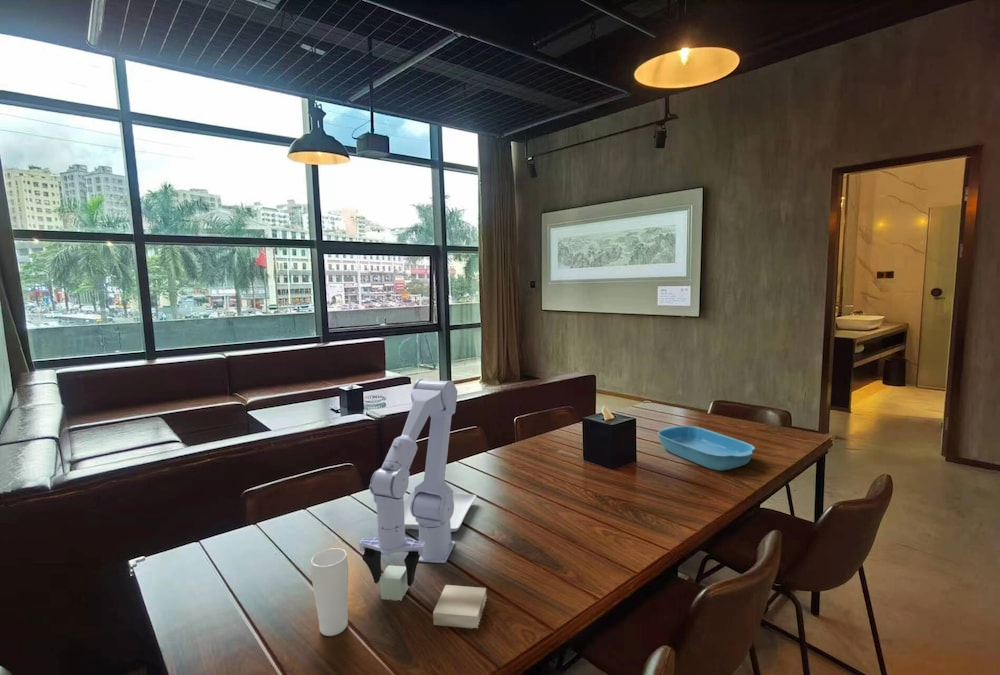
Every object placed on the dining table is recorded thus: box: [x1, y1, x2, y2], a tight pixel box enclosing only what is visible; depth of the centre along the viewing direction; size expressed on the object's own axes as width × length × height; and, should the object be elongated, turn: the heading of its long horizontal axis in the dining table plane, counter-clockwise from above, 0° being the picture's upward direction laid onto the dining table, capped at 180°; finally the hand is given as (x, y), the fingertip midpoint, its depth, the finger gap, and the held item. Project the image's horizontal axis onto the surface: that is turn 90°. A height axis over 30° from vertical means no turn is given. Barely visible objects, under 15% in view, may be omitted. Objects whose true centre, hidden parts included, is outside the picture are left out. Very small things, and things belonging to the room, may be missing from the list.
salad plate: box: [403, 490, 477, 533], centre depth 140 cm, size 21×21×3 cm
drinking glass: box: [310, 547, 349, 637], centre depth 94 cm, size 7×7×15 cm
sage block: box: [379, 564, 410, 602], centre depth 105 cm, size 5×5×5 cm
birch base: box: [432, 584, 488, 630], centre depth 99 cm, size 9×9×3 cm
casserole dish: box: [657, 425, 756, 472], centre depth 182 cm, size 37×22×7 cm, turn 26°
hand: (394, 582), depth 105 cm, fingers open, 7 cm apart
